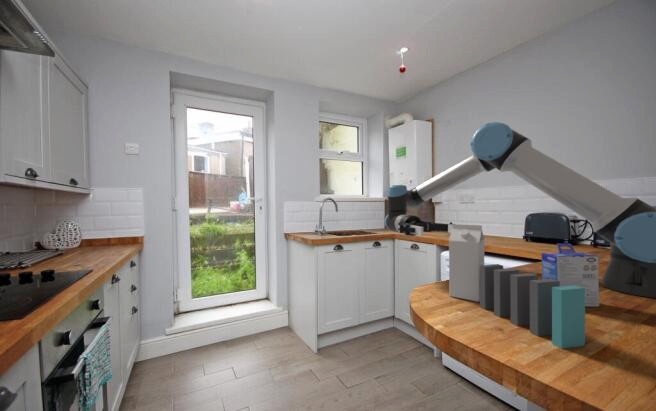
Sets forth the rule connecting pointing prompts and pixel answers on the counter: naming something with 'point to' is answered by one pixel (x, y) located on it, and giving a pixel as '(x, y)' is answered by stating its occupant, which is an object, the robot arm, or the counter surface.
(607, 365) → the counter surface
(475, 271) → the milk carton
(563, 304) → the domino
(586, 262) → the ink cartridge box
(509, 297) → the domino
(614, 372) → the counter surface
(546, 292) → the domino
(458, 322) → the counter surface
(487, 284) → the domino
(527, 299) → the domino
